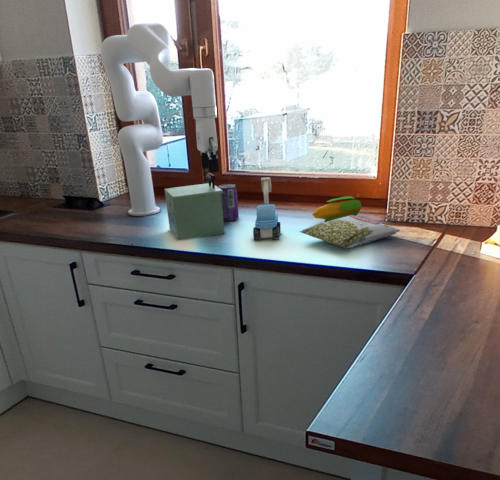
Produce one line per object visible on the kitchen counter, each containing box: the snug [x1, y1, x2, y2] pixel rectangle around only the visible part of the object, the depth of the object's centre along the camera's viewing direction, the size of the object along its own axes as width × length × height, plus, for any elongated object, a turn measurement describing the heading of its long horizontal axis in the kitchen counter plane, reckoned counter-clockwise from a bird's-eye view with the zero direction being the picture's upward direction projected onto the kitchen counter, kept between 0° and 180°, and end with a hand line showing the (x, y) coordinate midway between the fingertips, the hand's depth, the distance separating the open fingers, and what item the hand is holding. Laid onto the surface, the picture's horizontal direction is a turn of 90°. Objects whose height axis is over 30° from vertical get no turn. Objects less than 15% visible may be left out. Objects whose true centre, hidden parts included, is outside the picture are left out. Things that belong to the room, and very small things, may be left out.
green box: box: [164, 191, 225, 241], centre depth 201 cm, size 16×14×13 cm
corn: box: [311, 195, 362, 223], centre depth 206 cm, size 7×8×20 cm
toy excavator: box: [252, 177, 282, 241], centre depth 192 cm, size 9×17×17 cm, turn 174°
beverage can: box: [217, 183, 240, 222], centre depth 213 cm, size 7×7×12 cm
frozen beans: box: [298, 215, 402, 250], centre depth 185 cm, size 21×6×25 cm
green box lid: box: [164, 172, 223, 199], centre depth 197 cm, size 17×14×5 cm
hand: (210, 169), depth 196 cm, fingers open, 9 cm apart
